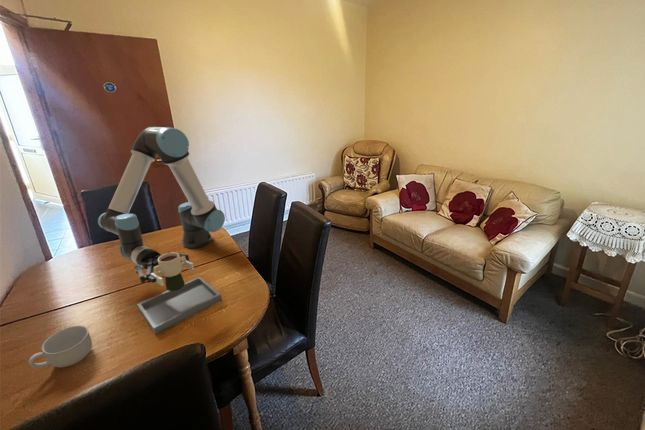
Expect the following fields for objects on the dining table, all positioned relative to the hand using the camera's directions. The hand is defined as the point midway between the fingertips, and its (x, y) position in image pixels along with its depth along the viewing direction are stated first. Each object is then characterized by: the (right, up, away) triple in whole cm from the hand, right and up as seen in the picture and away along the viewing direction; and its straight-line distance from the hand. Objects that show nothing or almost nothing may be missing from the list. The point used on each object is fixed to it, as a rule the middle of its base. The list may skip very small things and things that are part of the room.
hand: (178, 274), depth 102 cm
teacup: (-26, -24, -14) cm, 38 cm away
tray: (-3, -14, +8) cm, 16 cm away
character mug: (-3, -6, +5) cm, 8 cm away
